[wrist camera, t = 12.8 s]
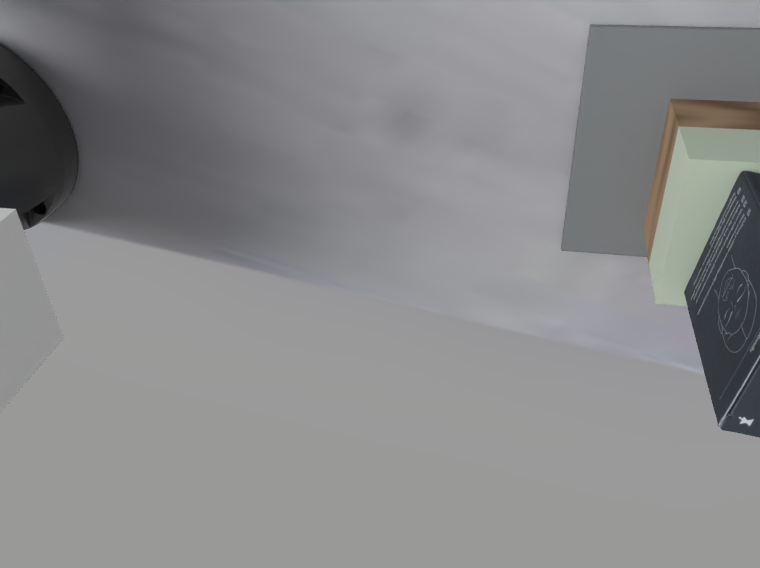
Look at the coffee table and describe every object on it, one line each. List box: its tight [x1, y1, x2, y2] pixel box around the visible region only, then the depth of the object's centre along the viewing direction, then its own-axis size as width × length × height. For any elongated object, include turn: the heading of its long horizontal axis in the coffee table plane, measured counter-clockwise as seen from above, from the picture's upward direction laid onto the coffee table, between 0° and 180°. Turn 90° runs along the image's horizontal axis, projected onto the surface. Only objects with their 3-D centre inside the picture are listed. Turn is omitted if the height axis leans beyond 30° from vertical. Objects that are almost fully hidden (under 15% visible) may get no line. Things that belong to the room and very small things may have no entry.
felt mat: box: [561, 25, 760, 257], centre depth 44 cm, size 15×15×1 cm
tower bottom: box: [643, 99, 760, 263], centre depth 43 cm, size 9×9×4 cm
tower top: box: [649, 126, 760, 307], centre depth 39 cm, size 9×9×4 cm
